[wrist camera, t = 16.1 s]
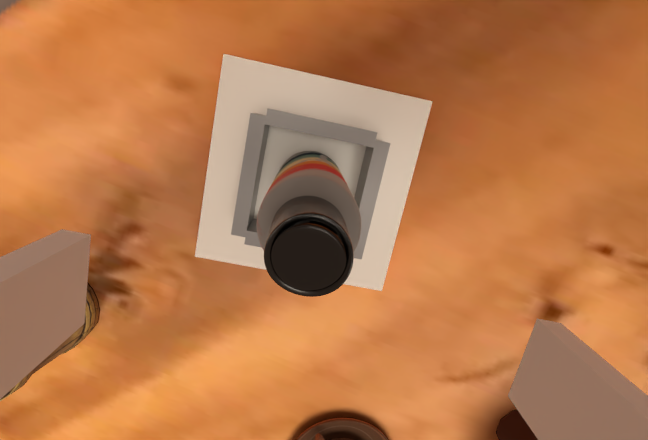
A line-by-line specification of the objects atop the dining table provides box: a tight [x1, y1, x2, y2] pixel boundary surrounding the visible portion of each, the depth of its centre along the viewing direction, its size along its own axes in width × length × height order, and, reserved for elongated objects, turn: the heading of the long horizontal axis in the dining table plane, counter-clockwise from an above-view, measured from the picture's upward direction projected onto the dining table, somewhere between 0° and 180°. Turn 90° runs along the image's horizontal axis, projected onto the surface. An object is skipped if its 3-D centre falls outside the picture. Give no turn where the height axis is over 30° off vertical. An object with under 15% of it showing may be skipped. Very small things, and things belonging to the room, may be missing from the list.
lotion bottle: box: [257, 151, 361, 296], centre depth 26 cm, size 6×6×20 cm
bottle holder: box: [195, 54, 433, 291], centre depth 35 cm, size 18×18×6 cm
